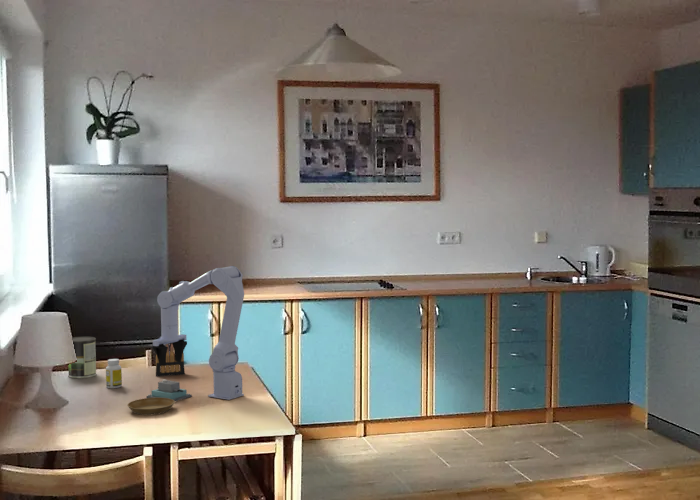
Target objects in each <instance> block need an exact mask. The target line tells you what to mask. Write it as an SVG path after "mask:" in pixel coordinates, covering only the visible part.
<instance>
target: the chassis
mask: <svg viewBox="0 0 700 500" xmlns="http://www.w3.org/2000/svg"><path fill="white" fill-rule="evenodd" d="M180 390H183V392H179V391H177V392H173V393H168V392H162V391H158V388H157V389H156V388H155V389H153V390H151V394H147V395H146V398H169V399H172V400H174V401H175V402H178V400H179V401H181V399H182V400H186V399H188V398H191V397H193V396H192V394H191V393H187V389H185V388H180Z"/></svg>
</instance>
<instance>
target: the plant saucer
mask: <svg viewBox="0 0 700 500" xmlns="http://www.w3.org/2000/svg"><path fill="white" fill-rule="evenodd" d="M175 403H176V401H174V400H172V399H169V398H147V397H146V398H140V399H135V400H132V401H129V402H128V403H127V407H128V408H129V409H130V410H131V412H133V413H134V414H137V415H143V416H145V415H147V416H149V415H151V414H153V415H158V414H159V413H160V414H164V413H166V411H167V412H168V411H169V410H170V409H171V408H172V407H173V406H175V405H174V404H175ZM163 412H164V413H163ZM151 416H152V415H151Z"/></svg>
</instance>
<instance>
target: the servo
mask: <svg viewBox="0 0 700 500" xmlns="http://www.w3.org/2000/svg"><path fill="white" fill-rule="evenodd" d="M157 389H158V391H162V392H168V393H173V392H177V391H179V392H183V390H180V389H181V387H180V381H174V380H169V379H166V378H165V379H162V381H159V382H157Z"/></svg>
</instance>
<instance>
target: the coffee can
mask: <svg viewBox="0 0 700 500" xmlns="http://www.w3.org/2000/svg"><path fill="white" fill-rule="evenodd" d="M71 338H72V340H73V344H74V349H75V353H76V357H77V362H75V363H72V364H69V365H68V364H67V365H68V366H67V367H68V377H69V378H71V379H87V378H92V377H96V376H97V357H96V356H97V355H96V351H97V349H96V340H97V338H96V337H94V336H75V337H74V336H73V337H71Z"/></svg>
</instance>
